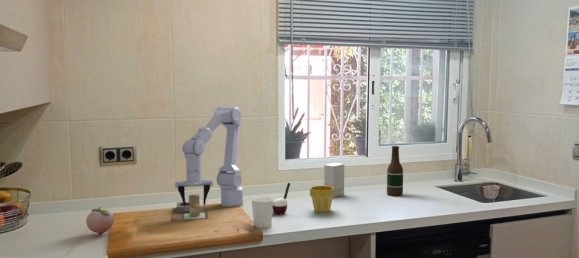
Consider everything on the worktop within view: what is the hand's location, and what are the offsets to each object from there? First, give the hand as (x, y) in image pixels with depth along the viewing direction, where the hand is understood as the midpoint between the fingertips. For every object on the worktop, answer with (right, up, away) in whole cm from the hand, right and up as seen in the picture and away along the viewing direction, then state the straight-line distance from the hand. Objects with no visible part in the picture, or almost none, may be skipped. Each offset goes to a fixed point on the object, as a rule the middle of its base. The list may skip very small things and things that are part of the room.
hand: (194, 204), depth 177 cm
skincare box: (+59, -3, +42) cm, 73 cm away
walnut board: (-3, -6, +5) cm, 9 cm away
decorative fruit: (-30, -8, -18) cm, 36 cm away
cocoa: (+34, -6, +10) cm, 36 cm away
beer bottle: (+89, -3, +43) cm, 99 cm away
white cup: (+27, -7, -7) cm, 29 cm away
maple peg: (0, -4, 0) cm, 4 cm away
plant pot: (+51, -5, +14) cm, 53 cm away
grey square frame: (-5, -4, +10) cm, 12 cm away
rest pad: (0, -5, 0) cm, 5 cm away
